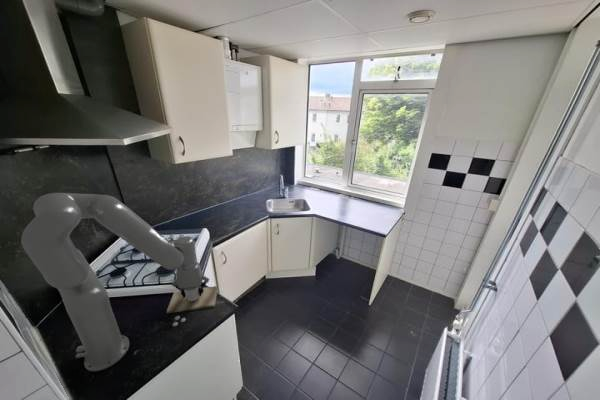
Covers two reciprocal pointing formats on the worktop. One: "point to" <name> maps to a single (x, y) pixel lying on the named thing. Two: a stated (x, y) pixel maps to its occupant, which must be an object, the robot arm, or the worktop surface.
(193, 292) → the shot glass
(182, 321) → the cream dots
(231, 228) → the worktop surface
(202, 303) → the birch board
